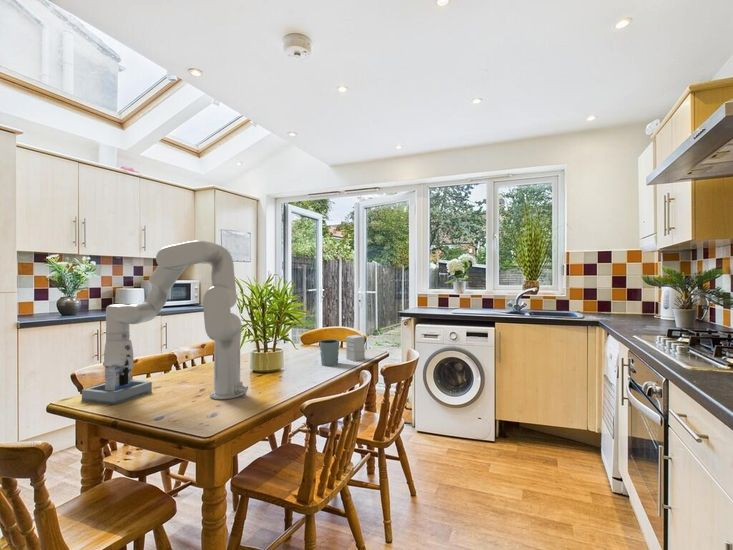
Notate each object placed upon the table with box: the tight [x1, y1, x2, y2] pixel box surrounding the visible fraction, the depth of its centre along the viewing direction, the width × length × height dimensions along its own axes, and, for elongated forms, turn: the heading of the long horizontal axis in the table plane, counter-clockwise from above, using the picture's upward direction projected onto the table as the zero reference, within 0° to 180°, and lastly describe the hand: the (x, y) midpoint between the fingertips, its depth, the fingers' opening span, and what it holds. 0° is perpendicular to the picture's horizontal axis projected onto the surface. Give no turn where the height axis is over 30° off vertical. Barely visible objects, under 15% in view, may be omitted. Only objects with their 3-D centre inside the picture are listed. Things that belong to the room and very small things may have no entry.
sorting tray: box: [81, 379, 153, 406], centre depth 148 cm, size 16×16×4 cm
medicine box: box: [104, 366, 132, 391], centre depth 148 cm, size 8×4×9 cm, turn 168°
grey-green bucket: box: [319, 339, 340, 367], centre depth 199 cm, size 10×10×12 cm
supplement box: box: [345, 334, 366, 362], centre depth 211 cm, size 7×7×13 cm
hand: (118, 383), depth 148 cm, fingers closed on medicine box, 4 cm apart
